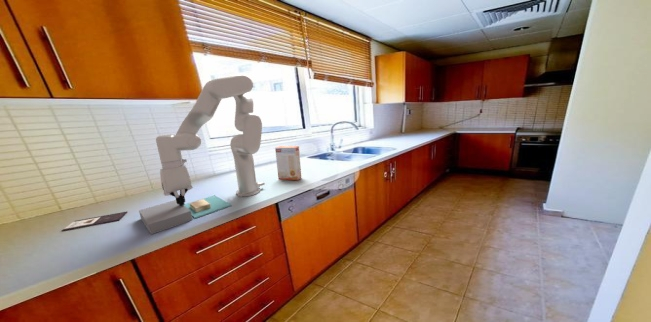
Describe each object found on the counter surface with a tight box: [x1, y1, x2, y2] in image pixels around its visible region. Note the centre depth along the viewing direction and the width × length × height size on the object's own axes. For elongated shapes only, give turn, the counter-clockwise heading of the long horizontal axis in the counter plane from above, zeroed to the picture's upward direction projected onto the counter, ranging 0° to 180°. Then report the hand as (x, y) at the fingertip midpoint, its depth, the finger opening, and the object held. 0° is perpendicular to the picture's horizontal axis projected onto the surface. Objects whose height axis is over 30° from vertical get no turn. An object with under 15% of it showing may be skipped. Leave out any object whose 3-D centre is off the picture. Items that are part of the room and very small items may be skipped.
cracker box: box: [274, 145, 302, 181], centre depth 140 cm, size 14×6×21 cm, turn 69°
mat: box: [184, 195, 233, 219], centre depth 105 cm, size 16×20×1 cm
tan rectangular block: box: [189, 198, 211, 212], centre depth 103 cm, size 6×9×2 cm, turn 46°
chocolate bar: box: [61, 211, 128, 232], centre depth 96 cm, size 9×1×18 cm
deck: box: [138, 199, 193, 235], centre depth 94 cm, size 14×20×4 cm
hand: (181, 204), depth 98 cm, fingers closed
